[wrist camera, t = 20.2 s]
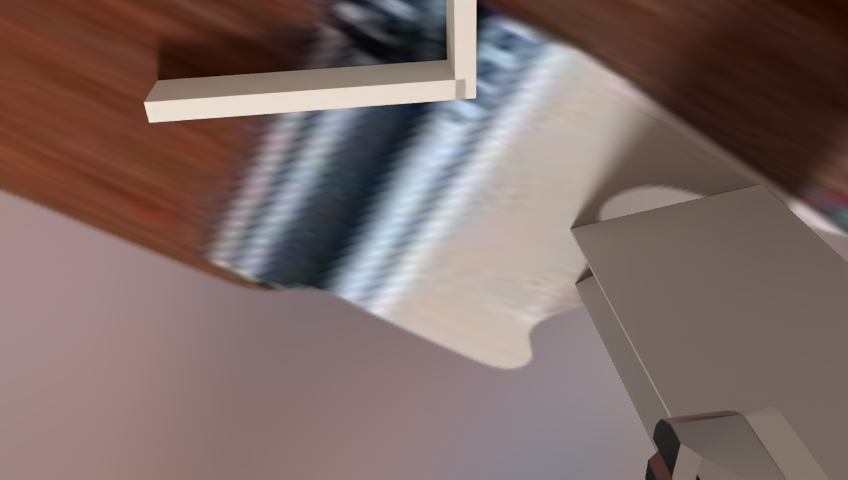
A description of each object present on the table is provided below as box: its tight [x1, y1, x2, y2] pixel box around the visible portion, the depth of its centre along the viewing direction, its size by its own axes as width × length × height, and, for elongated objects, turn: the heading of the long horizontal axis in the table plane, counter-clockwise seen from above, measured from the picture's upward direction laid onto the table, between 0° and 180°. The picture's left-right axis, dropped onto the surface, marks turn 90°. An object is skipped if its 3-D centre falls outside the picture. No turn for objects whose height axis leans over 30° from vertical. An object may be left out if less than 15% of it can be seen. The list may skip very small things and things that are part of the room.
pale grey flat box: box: [570, 184, 848, 480], centre depth 39 cm, size 14×6×30 cm, turn 102°
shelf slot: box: [144, 0, 476, 123], centre depth 38 cm, size 19×9×4 cm, turn 92°
